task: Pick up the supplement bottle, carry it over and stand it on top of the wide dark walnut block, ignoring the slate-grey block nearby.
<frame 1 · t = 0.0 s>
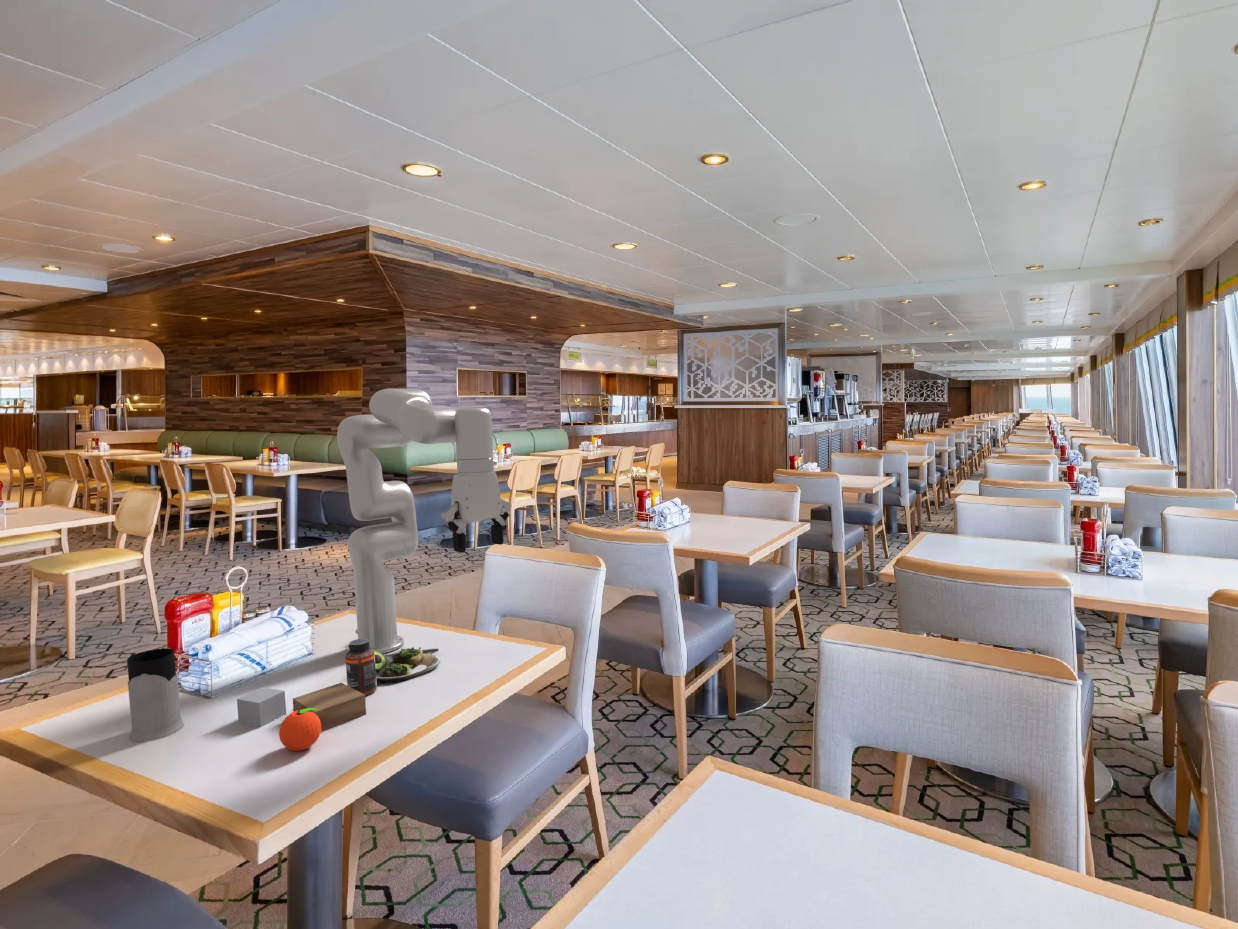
hand: (479, 547, 143), 31 cm above the table, fingers open, 9 cm apart
grey block: (262, 719, 136), on the table
supplement bottle: (362, 693, 147), on the table
glass holder: (162, 725, 134), on the table
salad plate: (396, 671, 160), on the table
walnut block: (330, 716, 136), on the table
clementine: (304, 748, 123), on the table
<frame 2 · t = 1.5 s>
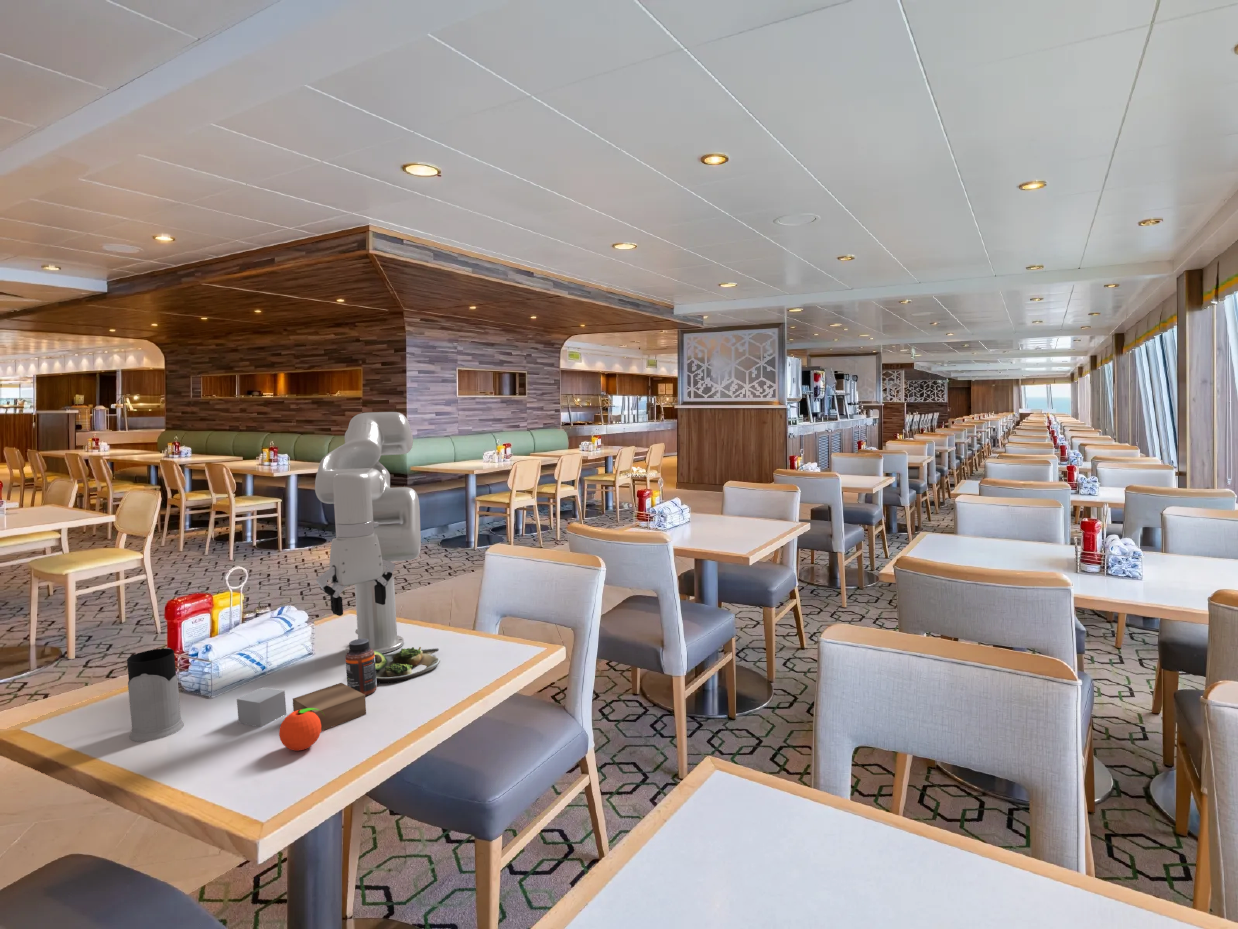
hand: (359, 609, 146), 18 cm above the table, fingers open, 9 cm apart
nothing on the table moved.
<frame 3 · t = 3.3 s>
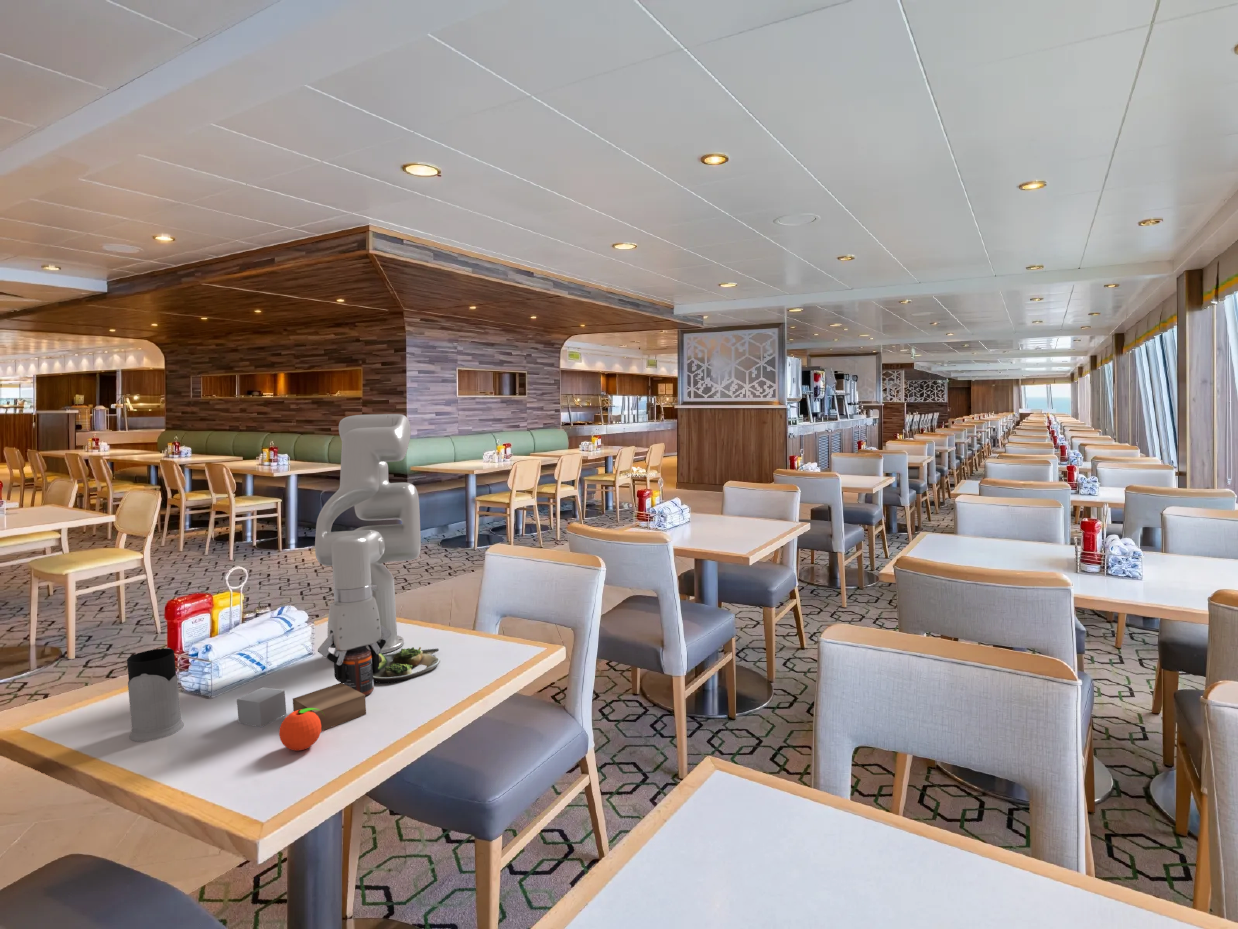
hand: (357, 675, 146), 4 cm above the table, fingers open, 6 cm apart
supplement bottle: (359, 694, 146), on the table, touching gripper
everything else where it was.
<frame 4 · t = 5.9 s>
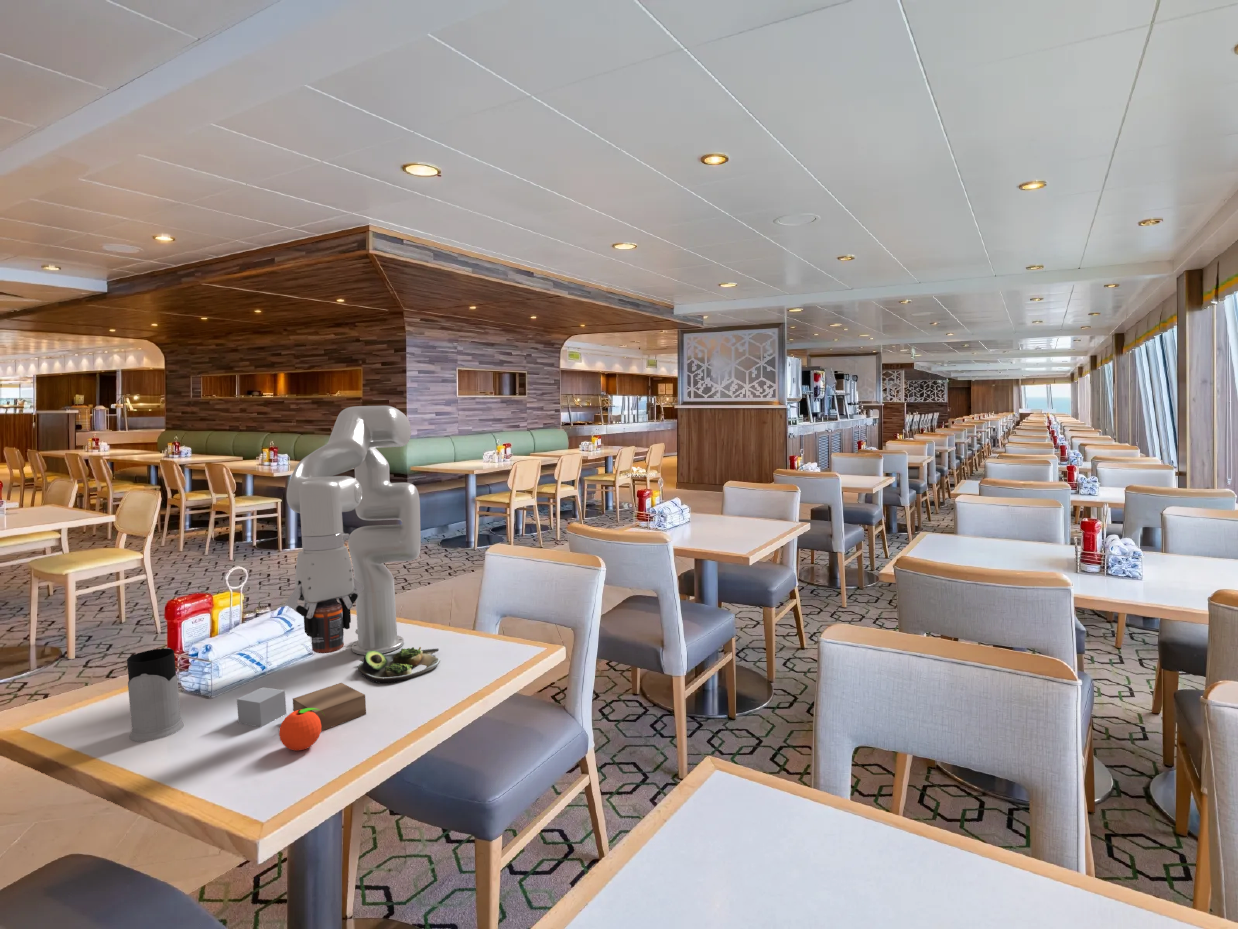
hand: (328, 631, 135), 17 cm above the table, fingers closed on supplement bottle, 6 cm apart
supplement bottle: (328, 650, 136), point 13 cm above the table, touching gripper
everything else where it was.
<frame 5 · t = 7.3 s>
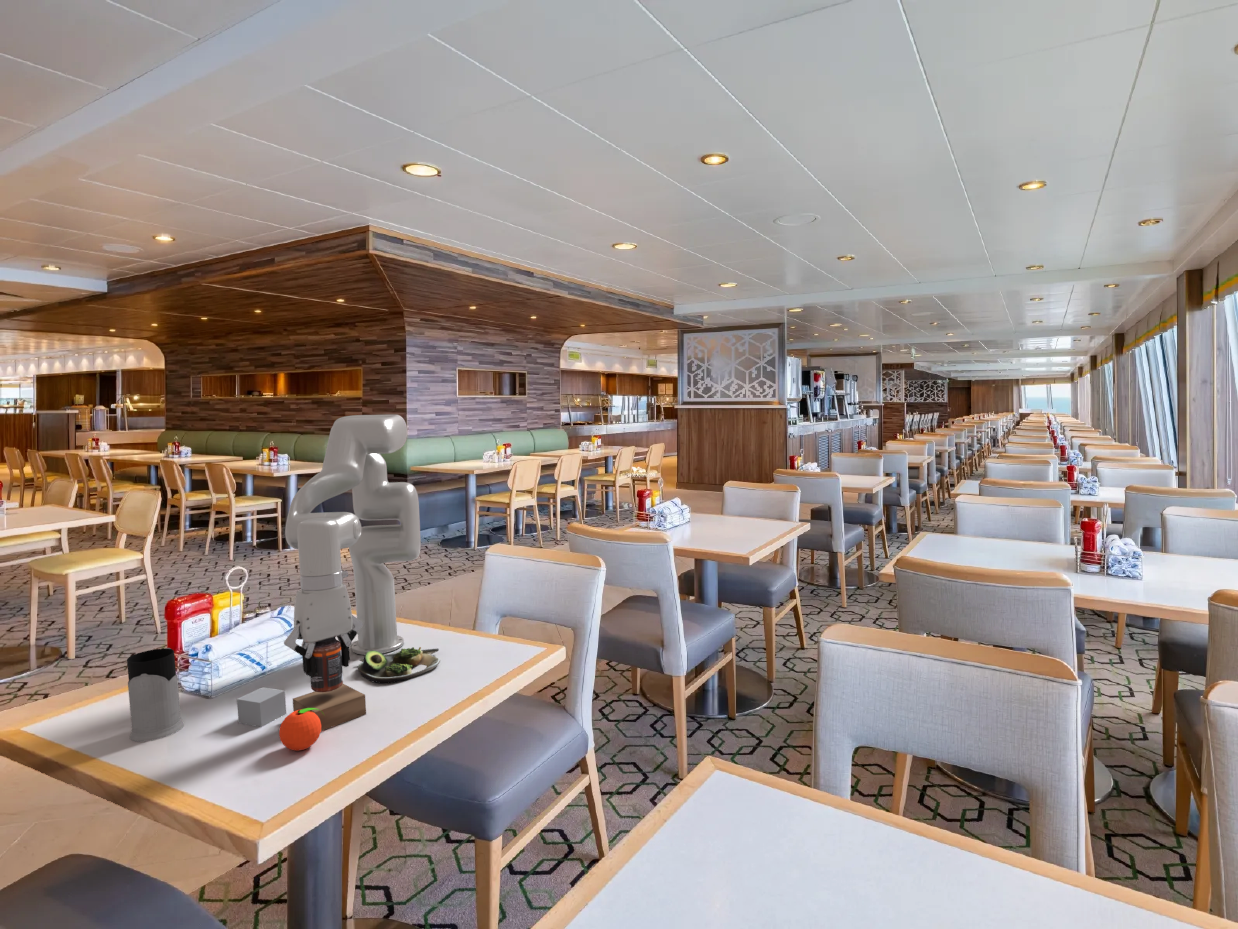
hand: (327, 669, 135), 10 cm above the table, fingers closed on supplement bottle, 6 cm apart
supplement bottle: (327, 688, 136), point 6 cm above the table, touching gripper
everything else where it was.
when the fingers open (8 cm above the table, at t = 8.3 s): supplement bottle stays where it is, resting on walnut block.
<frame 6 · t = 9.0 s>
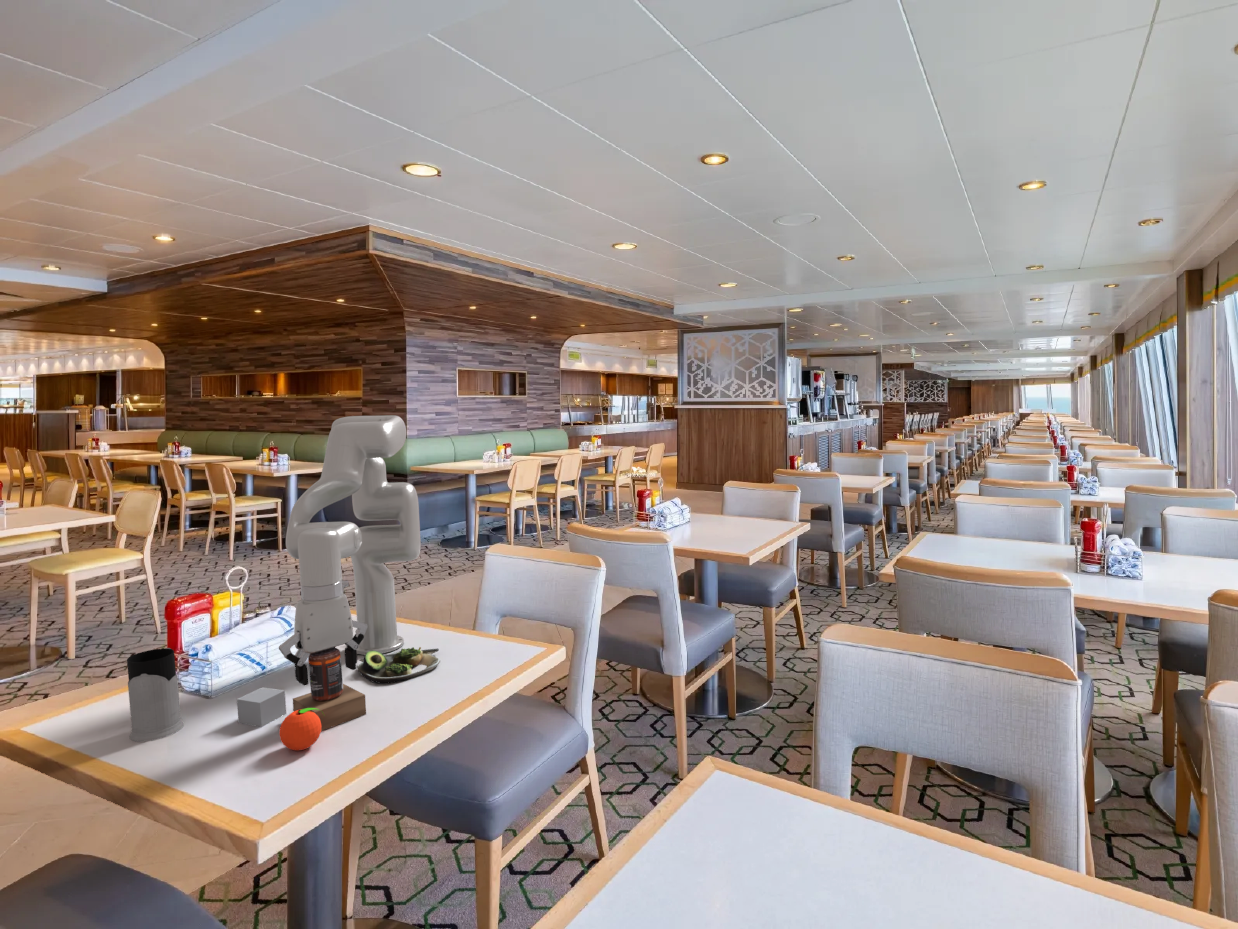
hand: (327, 675, 135), 8 cm above the table, fingers open, 9 cm apart
supplement bottle: (327, 696, 136), point 4 cm above the table, touching walnut block
everything else where it was.
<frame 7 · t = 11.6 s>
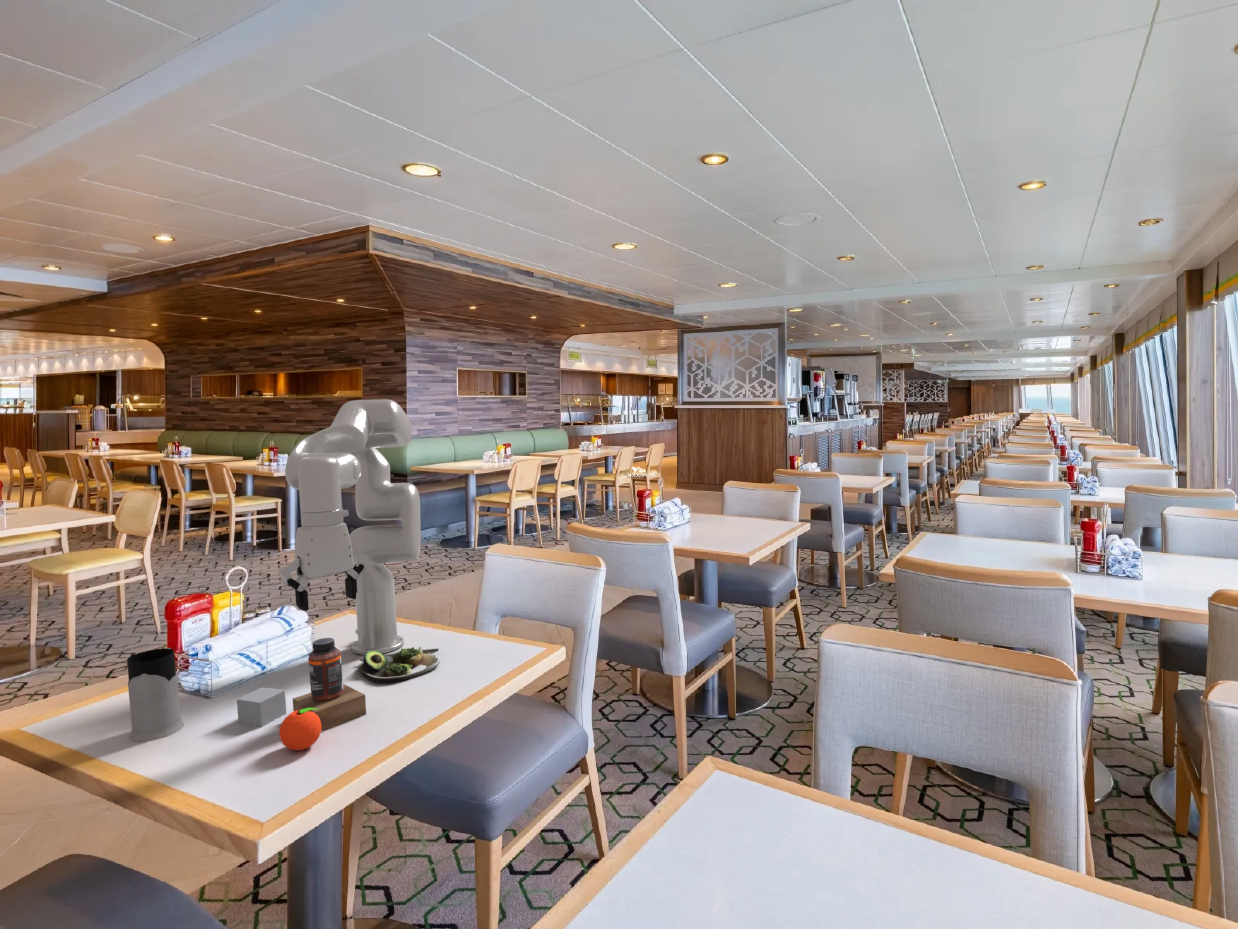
hand: (328, 603, 136), 22 cm above the table, fingers open, 9 cm apart
nothing on the table moved.
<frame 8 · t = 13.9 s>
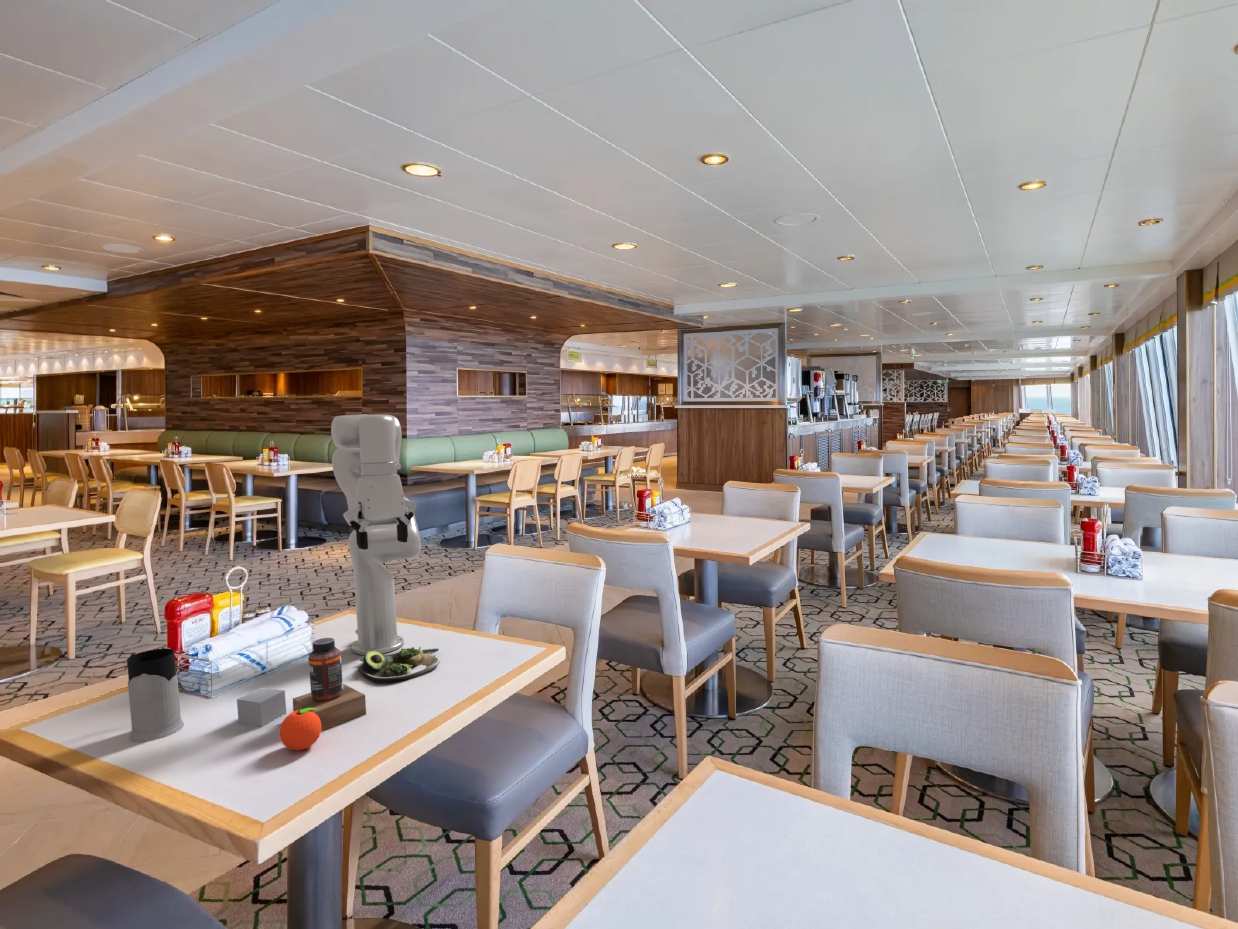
hand: (383, 545, 154), 30 cm above the table, fingers open, 9 cm apart
nothing on the table moved.
at the end: supplement bottle inside the target area on the walnut block (0.7 cm from its centre), point 3.8 cm above the walnut block's base; supplement bottle tilted 0°; the gripper is holding nothing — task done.
